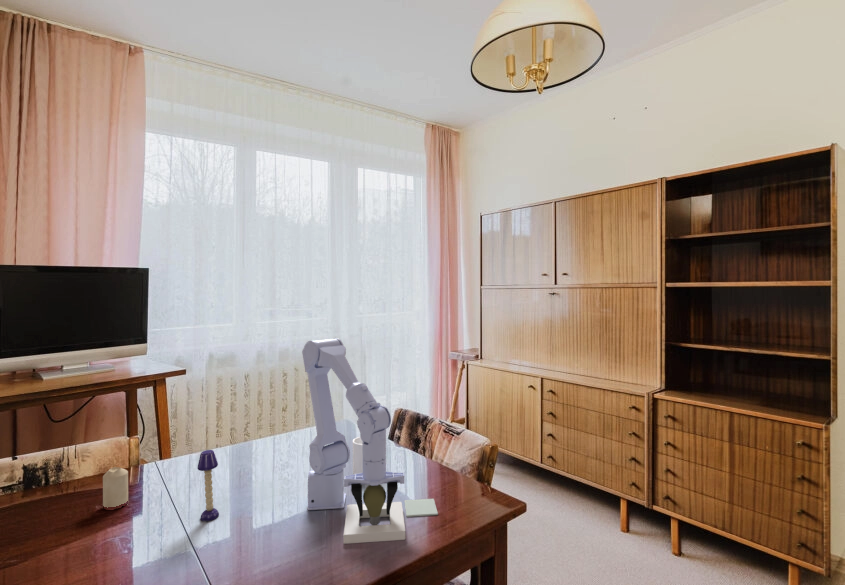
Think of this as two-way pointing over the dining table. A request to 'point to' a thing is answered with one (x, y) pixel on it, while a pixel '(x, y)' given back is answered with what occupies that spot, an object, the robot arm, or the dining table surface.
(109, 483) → the candle
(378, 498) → the light bulb
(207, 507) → the toy lamp
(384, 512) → the socket block
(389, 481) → the robot arm
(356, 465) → the cup
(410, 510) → the rubber pad
